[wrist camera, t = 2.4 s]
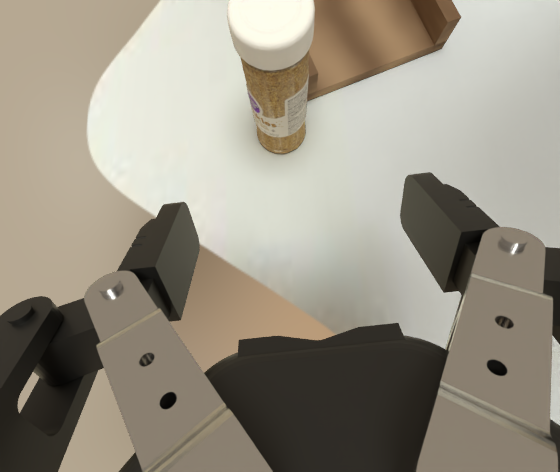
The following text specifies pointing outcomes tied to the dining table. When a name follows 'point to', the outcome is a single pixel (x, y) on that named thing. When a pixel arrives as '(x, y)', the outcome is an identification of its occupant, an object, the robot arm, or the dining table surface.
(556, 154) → the dining table surface
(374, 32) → the tray
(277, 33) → the sprinkles bottle
